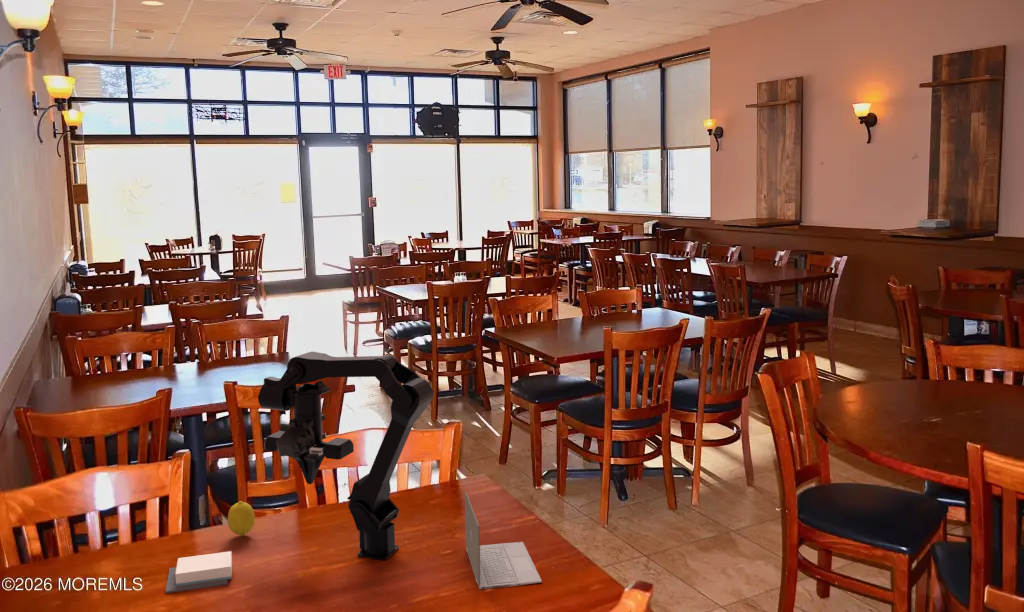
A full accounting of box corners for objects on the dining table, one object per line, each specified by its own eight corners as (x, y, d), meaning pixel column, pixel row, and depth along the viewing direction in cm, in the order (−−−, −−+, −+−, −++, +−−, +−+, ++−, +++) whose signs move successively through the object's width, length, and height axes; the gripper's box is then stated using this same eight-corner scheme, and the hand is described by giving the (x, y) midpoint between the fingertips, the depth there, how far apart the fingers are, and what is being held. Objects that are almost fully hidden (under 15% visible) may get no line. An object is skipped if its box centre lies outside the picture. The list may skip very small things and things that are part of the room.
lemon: (260, 532, 181) (258, 498, 180) (244, 543, 176) (242, 507, 175) (239, 529, 183) (237, 495, 182) (223, 539, 178) (221, 504, 176)
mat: (228, 562, 167) (228, 560, 167) (227, 584, 158) (227, 582, 158) (169, 569, 164) (169, 568, 164) (165, 593, 154) (165, 591, 154)
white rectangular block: (231, 551, 165) (178, 558, 162) (230, 566, 159) (175, 574, 156) (232, 562, 166) (178, 570, 163) (231, 578, 159) (176, 586, 156)
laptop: (542, 585, 158) (542, 520, 156) (478, 591, 156) (477, 526, 154) (523, 544, 176) (523, 486, 174) (465, 550, 173) (464, 491, 171)
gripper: (246, 418, 168) (249, 491, 170) (324, 427, 162) (327, 503, 164) (279, 404, 179) (282, 473, 181) (353, 413, 172) (356, 484, 174)
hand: (310, 483), depth 175 cm, fingers closed
